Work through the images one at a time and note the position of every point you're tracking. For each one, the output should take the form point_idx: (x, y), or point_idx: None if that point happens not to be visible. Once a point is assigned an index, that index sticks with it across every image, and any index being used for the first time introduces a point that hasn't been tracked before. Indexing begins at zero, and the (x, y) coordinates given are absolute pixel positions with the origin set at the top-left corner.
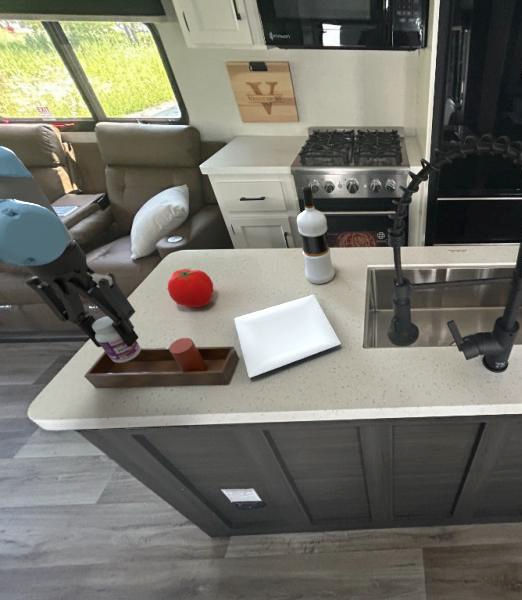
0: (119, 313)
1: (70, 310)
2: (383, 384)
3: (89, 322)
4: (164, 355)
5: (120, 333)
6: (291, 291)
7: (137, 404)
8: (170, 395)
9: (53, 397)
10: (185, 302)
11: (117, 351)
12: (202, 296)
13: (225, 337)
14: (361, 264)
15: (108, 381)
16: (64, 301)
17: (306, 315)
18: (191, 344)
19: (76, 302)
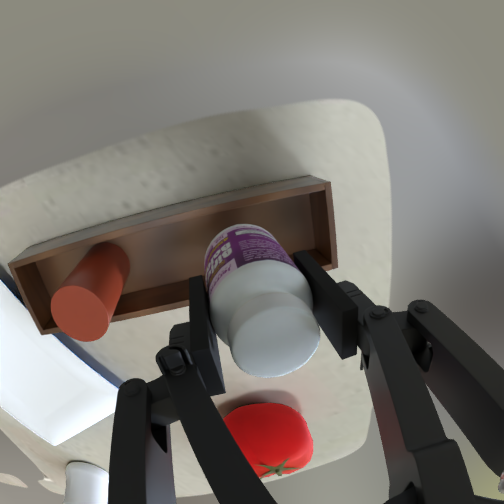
0: (137, 416)
1: (396, 369)
2: None
3: (335, 328)
4: None
5: (196, 314)
6: (104, 451)
7: (177, 151)
8: (119, 191)
9: (373, 145)
10: (256, 414)
11: (224, 249)
12: None
13: (124, 356)
14: (60, 483)
15: (276, 186)
16: (427, 419)
17: (32, 410)
18: (56, 322)
19: (384, 420)
